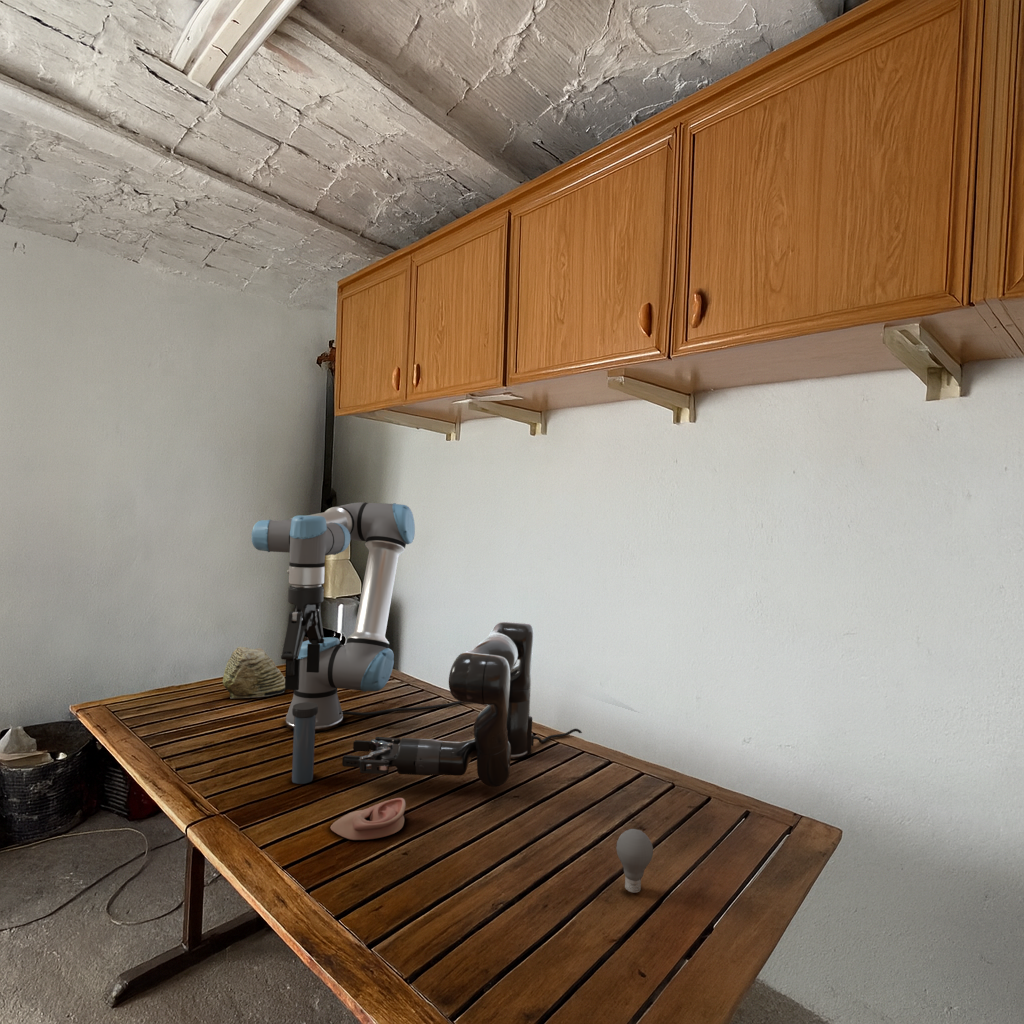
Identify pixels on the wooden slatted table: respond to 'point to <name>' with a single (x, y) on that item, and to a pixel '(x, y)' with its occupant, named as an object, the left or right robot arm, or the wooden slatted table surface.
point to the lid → (305, 709)
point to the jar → (303, 750)
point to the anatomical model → (372, 821)
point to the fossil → (252, 674)
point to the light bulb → (634, 857)
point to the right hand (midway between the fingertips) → (348, 752)
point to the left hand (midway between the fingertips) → (302, 680)
